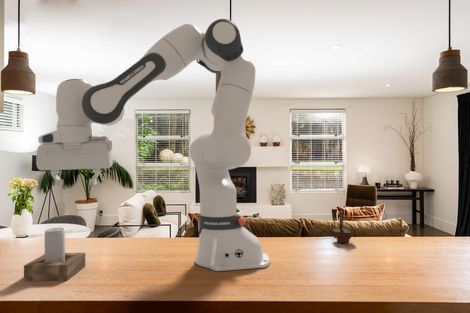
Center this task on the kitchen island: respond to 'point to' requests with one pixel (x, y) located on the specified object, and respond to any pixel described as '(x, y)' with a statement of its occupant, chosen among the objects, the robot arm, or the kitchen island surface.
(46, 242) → the beverage can
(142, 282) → the kitchen island surface
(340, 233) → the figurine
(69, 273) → the walnut holder
